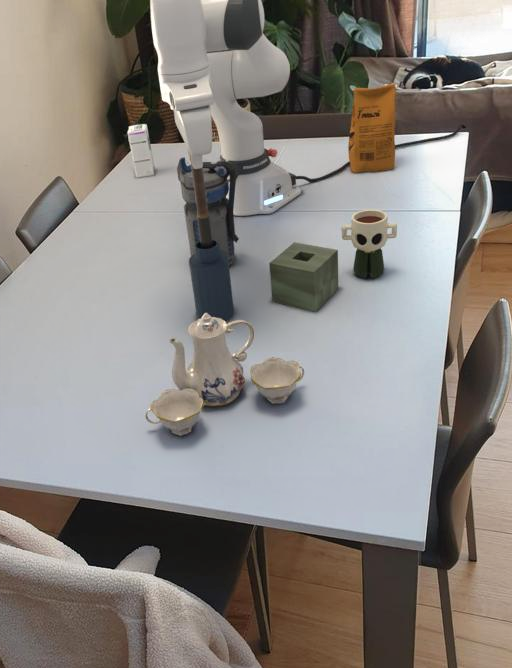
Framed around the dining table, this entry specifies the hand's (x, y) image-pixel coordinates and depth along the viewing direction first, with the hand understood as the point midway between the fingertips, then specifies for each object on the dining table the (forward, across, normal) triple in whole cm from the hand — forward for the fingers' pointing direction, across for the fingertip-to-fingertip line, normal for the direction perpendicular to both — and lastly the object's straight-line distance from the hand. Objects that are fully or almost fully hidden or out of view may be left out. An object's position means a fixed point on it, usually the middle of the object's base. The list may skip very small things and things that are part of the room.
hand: (196, 164), depth 129 cm
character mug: (+32, -5, +34) cm, 47 cm away
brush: (+18, 0, 0) cm, 18 cm away
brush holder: (+32, -1, +19) cm, 37 cm away
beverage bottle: (+32, -22, +4) cm, 39 cm away
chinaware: (+32, +29, -4) cm, 43 cm away
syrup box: (+32, -91, -6) cm, 97 cm away
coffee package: (+32, -62, +56) cm, 90 cm away
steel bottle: (+32, 0, 0) cm, 32 cm away
